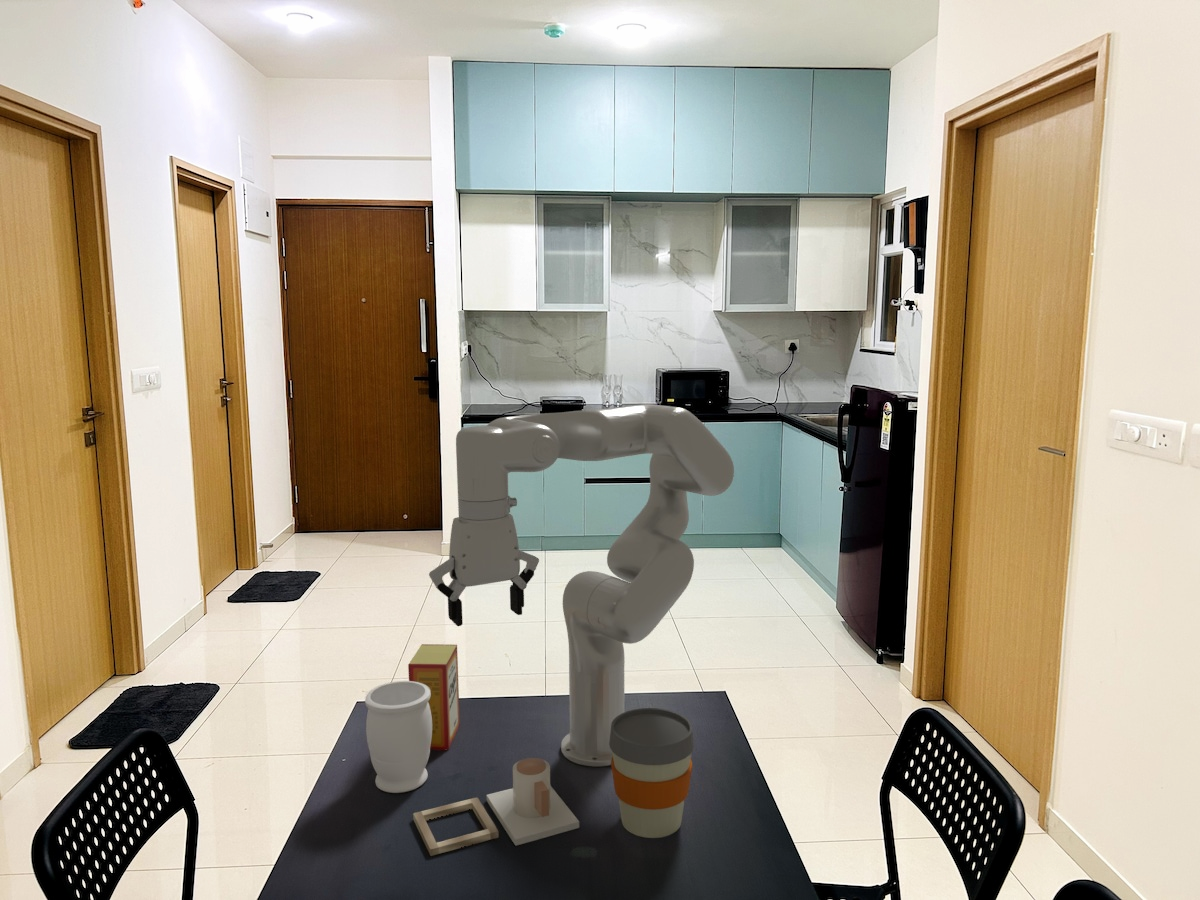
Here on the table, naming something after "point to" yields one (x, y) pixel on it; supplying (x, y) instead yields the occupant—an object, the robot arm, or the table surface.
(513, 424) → the robot arm
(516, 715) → the table surface
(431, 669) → the baking soda box
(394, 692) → the jar
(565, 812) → the mat
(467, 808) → the wooden square frame
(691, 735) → the reusable coffee cup
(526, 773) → the cylinder with brown end
